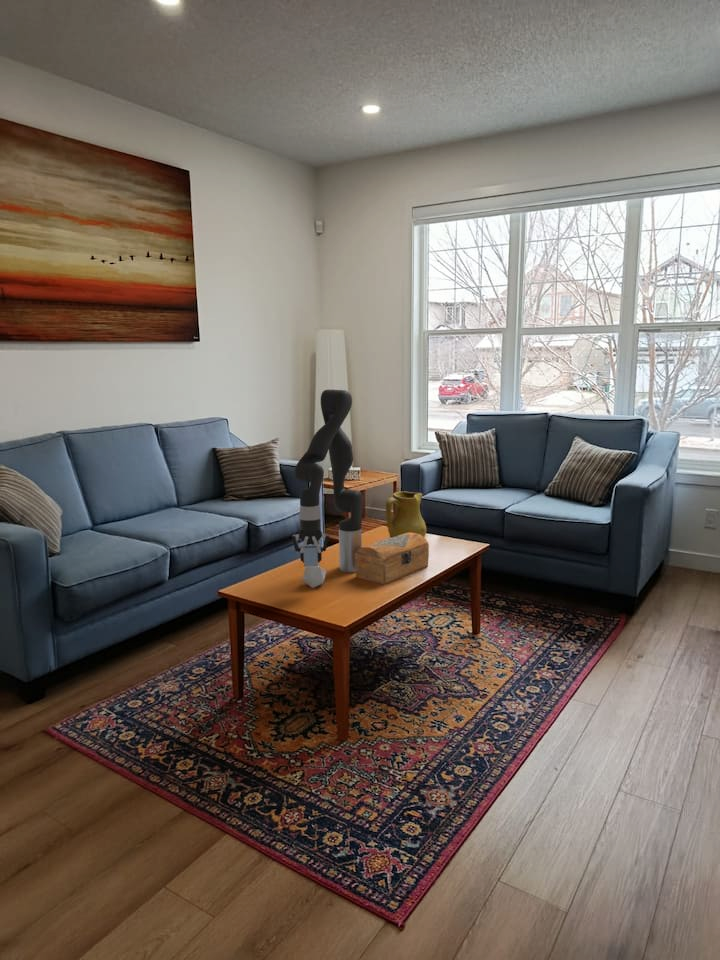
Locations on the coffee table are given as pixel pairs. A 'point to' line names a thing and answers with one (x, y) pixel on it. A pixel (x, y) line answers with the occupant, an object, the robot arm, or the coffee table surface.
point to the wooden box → (392, 558)
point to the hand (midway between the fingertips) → (311, 561)
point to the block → (310, 556)
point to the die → (314, 576)
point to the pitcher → (405, 514)
